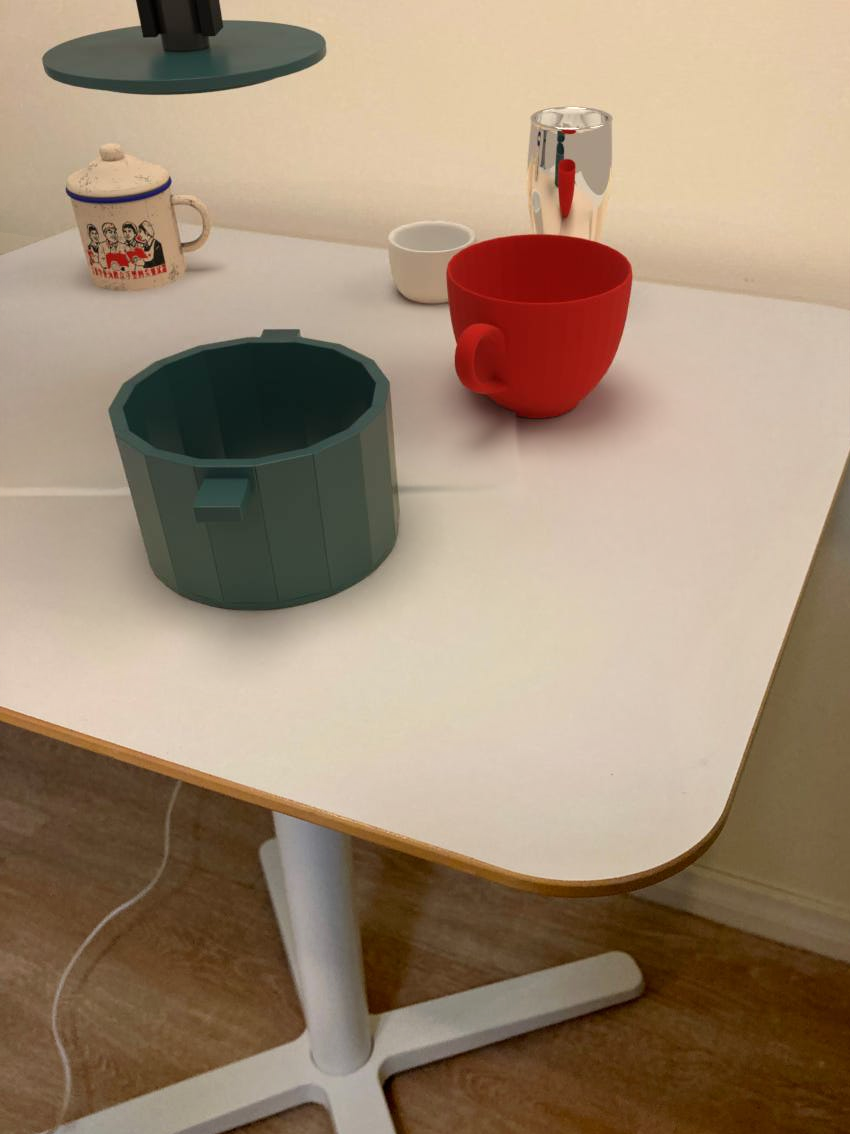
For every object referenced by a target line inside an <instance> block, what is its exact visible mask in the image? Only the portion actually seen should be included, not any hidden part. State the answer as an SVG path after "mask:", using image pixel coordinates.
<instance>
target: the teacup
mask: <svg viewBox="0 0 850 1134" xmlns="http://www.w3.org/2000/svg"><path fill="white" fill-rule="evenodd" d="M387 237H388V238H387V252H388V253H387V254H388V260H389V266H390V273H391V275H392V280H393V282H394V284H395V286H396V288H397V290H398V291H399V292H400V293H401V295H402V296H403V297H405V298H406V299H407V300H410V301H411V302H415V303H420V304H431V305H432V304H433V305H434V304H435V305H436V304H445V303H449V301H448V292H447V279H446V271H447V266H448V263H449V261H450V260H451V259H452V257H453V256H454V255H456V254H457V253H458V252H459V251H461V250H463V249H465V248H467V247H469V246H471V245H474V244H477V243H478V242H477V235H476V234H475V231H474V230H473V229H472V228H470V227H468V226H467V225H464V224H461V223H458V222H452V221H446V220H421V221H414V222H409V223H405V224H402V225H400V226H398V227H396V228H393V230H391V231H390V232H389V234H388V236H387Z"/></svg>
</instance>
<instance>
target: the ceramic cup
mask: <svg viewBox="0 0 850 1134" xmlns="http://www.w3.org/2000/svg"><path fill="white" fill-rule="evenodd" d="M446 279H447V292H448V301H449V302H448V308H449V315H450V316H449V317H450V321H451V327H452V332H453V337H454V340H455V343H456V346H455V351H454V368H455V372H456V376H457V377H458V379H459V381H460V383H461V384H462V385H463V386H464V387H465V388H466V389H467V390H469V391H471V392H474V393H477V394H483V395H486V396H487V397H488V398H489V399H491V400H492V401H493V402H494V403H495V404H497V405H498V406H499V407H502V408H504V409H505V410H509V411H512V412H515V416H516V417H521V418H528V419H546V418H552V417H557V416H561V415H564V414H566V413H569V412H571V411H572V410H574V409H575V408H576V407H577V406H578V405H579V403H580V402H581V401H582V400H584V399H585V398H586V397H587V396H588V395H589V394H590V393H591V392H592V391H593V390H594V389H595V388H596V387H597V385H598V384H599V383H600V382H601V381H602V380H603V378H604V376H605V375H606V374H607V372H608V371H609V369H610V367H611V365H613V362H614V359H615V357H616V355H617V352H618V349H619V346H620V345H621V340H622V338H623V334H624V330H625V328H626V327H625V326H626V323H627V319H628V318H627V317H628V313H629V308H630V307H629V306H630V300H631V295H632V286H633V269H632V264H631V262H630V261H629V259H628V258H627V256H625V255H624V254H623V253H622V252H620V251H619V250H617V249H615V248H613V247H611V246H610V245H606V244H604V243H601V242H599V243H598V242H595V241H591V240H587V239H583V238H578V237H571V236H564V235H550V234H533V233H527V234H514V235H508V236H507V235H506V236H500V237H495V238H491V239H487V240H483V241H480V242H477V244H474V245H471V246H469V247H467V248H465V249H463V250H461V251H459V252H458V253H457V254H456V255H454V256H453V257H452V259H451V260H450V261H449V263H448V266H447V271H446Z"/></svg>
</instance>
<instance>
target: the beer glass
mask: <svg viewBox="0 0 850 1134" xmlns="http://www.w3.org/2000/svg"><path fill="white" fill-rule="evenodd" d="M529 118H530V119H529V121H530V123H529V124H530V125H529V135H528V144H527V145H528V146H527V156H526V157H527V159H526V192H527V202H528V203H527V204H528V212H529V219H530V224H531V225H530V227H531V231H532V234H550V235H564V236H571V237H578V238H583V239H587V240H591V241H595V242H598V243H600V238H601V236H602V235H601V234H602V230H603V226H604V221H605V218H606V212H607V208H608V203H609V198H610V197H609V196H610V192H611V185H612V173H613V120H614V119H613V116H612V115H611V114H610V113H609V112H607V111H604V110H601V109H598V108H593V107H585V106H557V107H550V108H545V109H544V108H543V109H541V110H538V111H535V112H534V113H532V114H531V116H530V117H529Z"/></svg>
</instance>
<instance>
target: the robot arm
mask: <svg viewBox="0 0 850 1134" xmlns="http://www.w3.org/2000/svg"><path fill="white" fill-rule="evenodd" d="M196 1H197V7H198V13H199V19H200V25H201V31H202V36H216V35H217V34H218V32H219V31H220V30H221V29H222V28H223V21H222V20H223V16H222V7H221V1H220V0H196ZM135 3H136V8H137V13H138V18H139V23H140V26H141V29H142V34H143V38H147V37H157V36H158V35H159V34H160V31H159V25H158V20H157V15H156V9H155V4H154V0H135Z"/></svg>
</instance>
